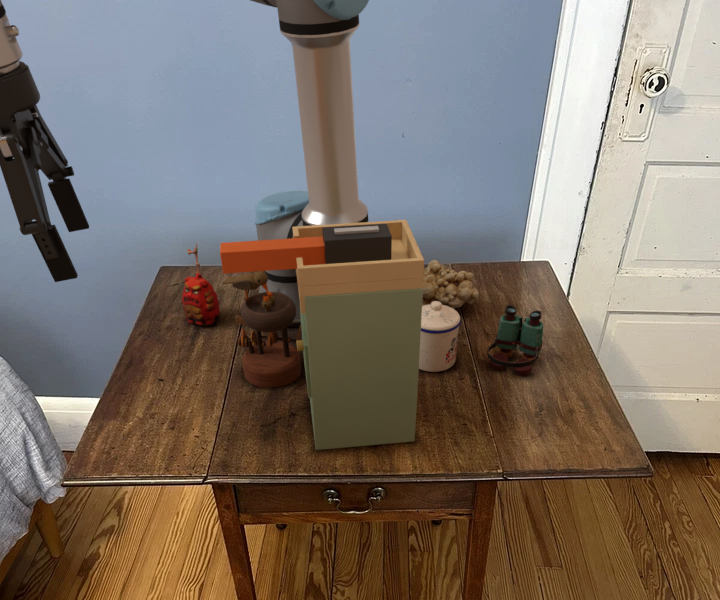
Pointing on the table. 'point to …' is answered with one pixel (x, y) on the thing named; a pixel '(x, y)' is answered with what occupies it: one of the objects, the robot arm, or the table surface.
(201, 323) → the red clay folk toy
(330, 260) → the bar
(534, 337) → the binoculars
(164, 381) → the table surface
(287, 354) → the music box
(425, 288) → the mineral formation
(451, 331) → the teacup with lid
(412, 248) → the drawer stand
